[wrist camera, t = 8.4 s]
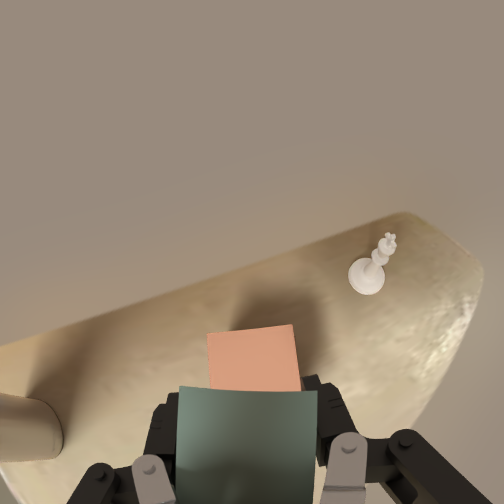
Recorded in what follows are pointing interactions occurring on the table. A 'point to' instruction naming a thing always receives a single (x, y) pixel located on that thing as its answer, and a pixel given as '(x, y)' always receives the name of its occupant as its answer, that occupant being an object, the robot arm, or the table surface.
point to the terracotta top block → (254, 360)
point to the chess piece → (372, 267)
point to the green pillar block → (245, 446)
